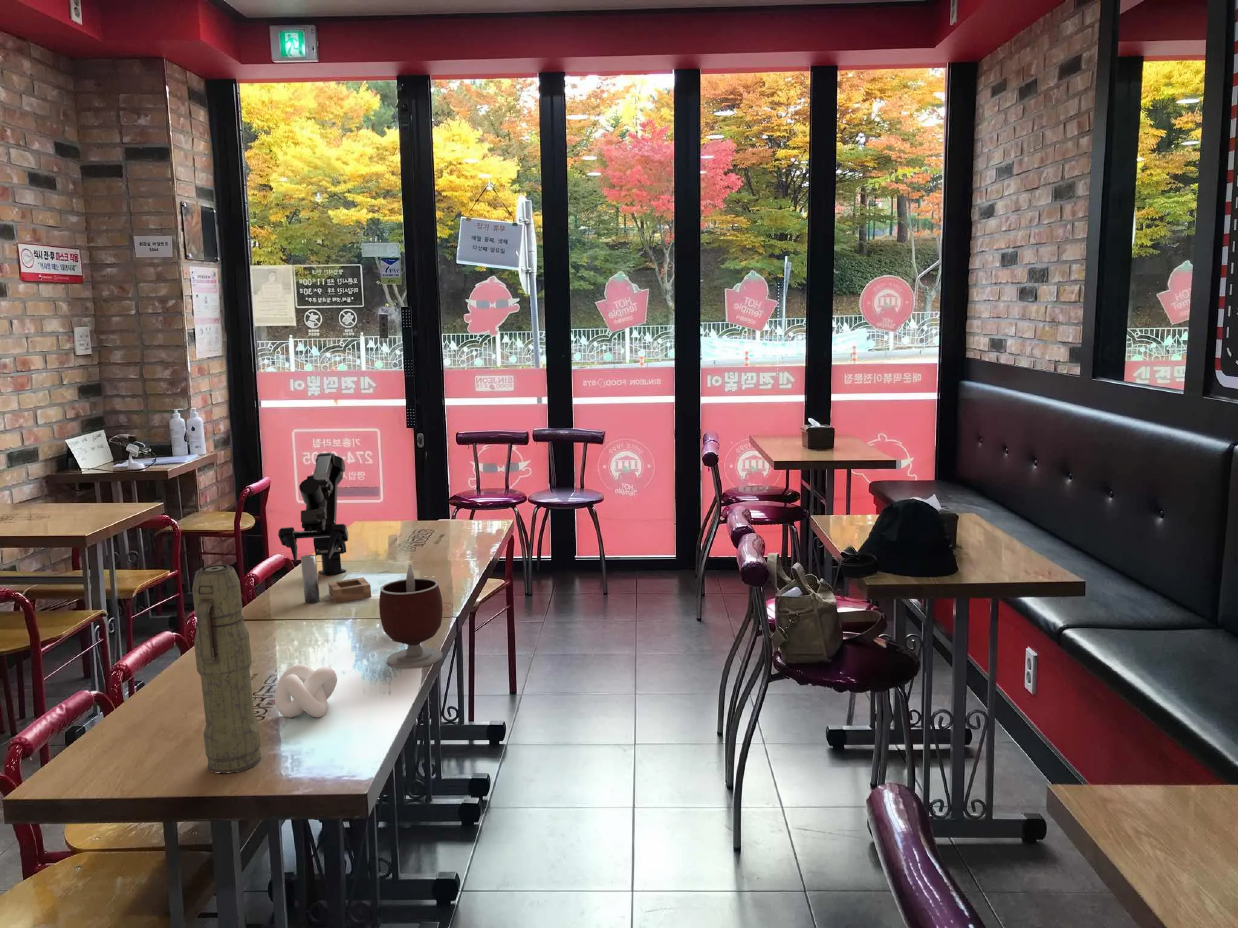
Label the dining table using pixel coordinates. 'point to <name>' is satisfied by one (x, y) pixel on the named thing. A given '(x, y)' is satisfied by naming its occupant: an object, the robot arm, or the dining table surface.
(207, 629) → the thermos
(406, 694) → the dining table surface
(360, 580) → the socket block
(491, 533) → the dining table surface
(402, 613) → the mate gourd
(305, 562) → the pin
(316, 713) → the white knot
